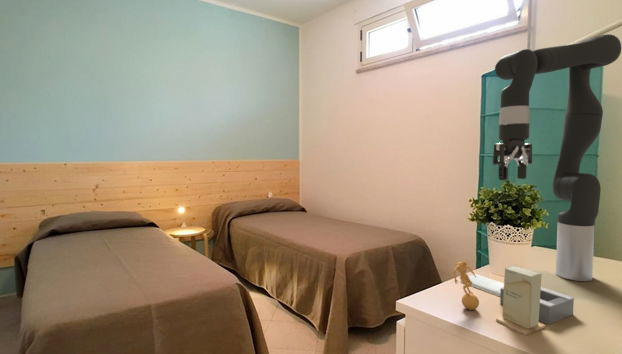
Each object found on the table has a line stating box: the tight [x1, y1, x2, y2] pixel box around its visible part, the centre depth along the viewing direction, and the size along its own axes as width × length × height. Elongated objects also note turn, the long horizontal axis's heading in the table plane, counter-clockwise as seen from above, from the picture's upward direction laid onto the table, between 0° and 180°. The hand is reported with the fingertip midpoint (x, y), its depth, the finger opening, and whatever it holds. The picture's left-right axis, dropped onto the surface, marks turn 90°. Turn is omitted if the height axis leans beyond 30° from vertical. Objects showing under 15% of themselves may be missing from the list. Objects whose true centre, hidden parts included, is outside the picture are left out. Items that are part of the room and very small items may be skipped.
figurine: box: [452, 260, 480, 311], centre depth 86 cm, size 8×6×12 cm
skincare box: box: [501, 265, 542, 329], centre depth 77 cm, size 6×4×12 cm
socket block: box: [499, 286, 575, 325], centre depth 85 cm, size 10×12×4 cm
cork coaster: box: [495, 316, 546, 336], centre depth 78 cm, size 7×7×1 cm
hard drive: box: [460, 273, 504, 297], centre depth 100 cm, size 2×8×12 cm
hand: (512, 179), depth 97 cm, fingers open, 8 cm apart
